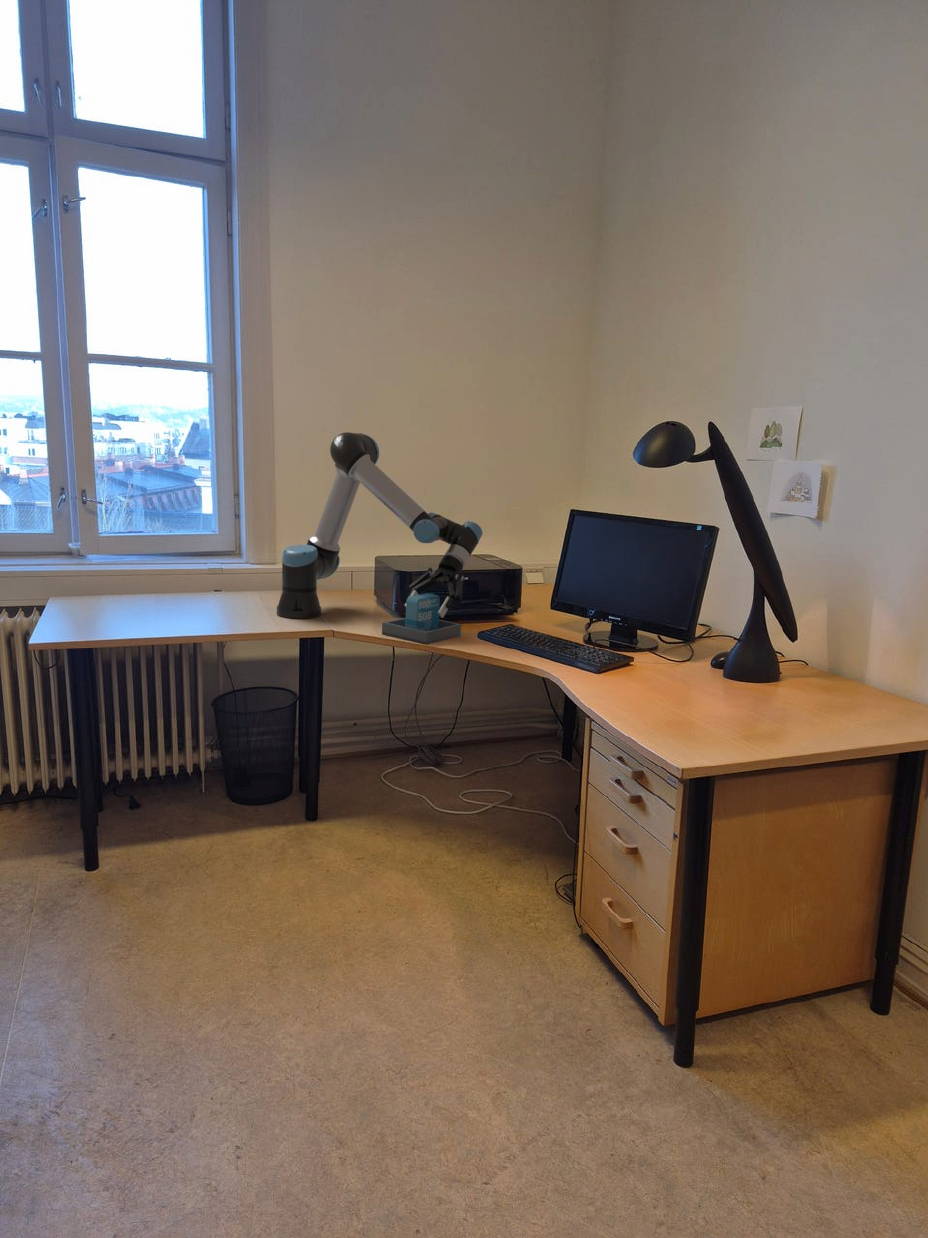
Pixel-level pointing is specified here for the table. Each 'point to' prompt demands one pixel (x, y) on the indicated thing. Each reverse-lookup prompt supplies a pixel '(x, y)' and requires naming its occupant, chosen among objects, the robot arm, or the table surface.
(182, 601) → the table surface
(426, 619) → the blue printed box
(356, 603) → the table surface
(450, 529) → the robot arm
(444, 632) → the tray
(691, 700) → the table surface
